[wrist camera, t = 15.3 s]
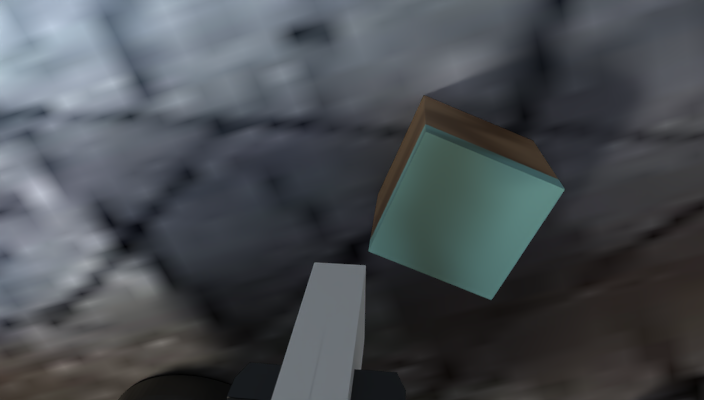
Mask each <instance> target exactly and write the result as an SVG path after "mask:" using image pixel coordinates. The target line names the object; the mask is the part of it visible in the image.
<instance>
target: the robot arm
mask: <svg viewBox="0 0 704 400" xmlns="http://www.w3.org/2000/svg"><path fill="white" fill-rule="evenodd" d="M365 285H366V265H351V264H333V263H316V262H314V265H313V268H312V272H311V275H310V278H309V281H308V284H307V287H306V291H305V294H304V297H303V300H302V303H301V306H300V310H299V313H298V316H297V319H296V322H295V325H294V329H293V332H292V335H291V338H290V341H289V345H288V348H287V351H286V354H285V357H284V360H283V364H282V365H275V364H262V363H249V364H248V365H247V366H246V367H245V368H244V369H243V370H242V371H241V372H240V373H239V374H238V375H237V376H236V377H235V379H234V381H233V383H232V386H231V385H229V384H226V383H223V382H220V381H216V380H213V379H208V378H204V377H198V376H189V375H168V376H160V377H155V378H151V379H148V380H145V381H142V382H140V383H138V384H136V385H134V386H132V387H131V388H130V389H128V390H127V391H126V392H125V393H123V395H122V396H121V397H120V398H119V399H118V400H406V390H405V388H404V386H403V384H402V382H401V380H400V378H399V376H398V374H397V372H384V371H371V370H361V366H362V357H363V348H364V338H365Z"/></svg>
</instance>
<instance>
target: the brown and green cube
mask: <svg viewBox="0 0 704 400" xmlns="http://www.w3.org/2000/svg"><path fill="white" fill-rule="evenodd" d="M564 190H565V189H564V187H563V186H562V184H561V182H560V181H559V179H558V178H557V176H556V175H555V173H554V172H553V170H552V169H551V167H550V166H549V164H548V163H547V161H546V160H545V158H544V157H543V155H542V154H541V152H540V150H539V149H538V147H537V146H536V144H535V143H534V141H532V140H530V139H528V138H525V137H523V136H520V135H518V134H516V133H513V132H511V131H508V130H506V129H504V128H501V127H499V126H497V125H494V124H492V123H489V122H487V121H485V120H482V119H480V118H477V117H475V116H473V115H470V114H468V113H465V112H463V111H461V110H458V109H456V108H454V107H451V106H449V105H446V104H444V103H442V102H439V101H437V100H434V99H432V98H430V97H427V96H425V95H424V96H423V98H422V100H421V102H420V105H419V107H418V109H417V111H416V113H415V115H414V118H413V120H412V122H411V124H410V126H409V128H408V131H407V133H406V135H405V137H404V139H403V141H402V144H401V146H400V148H399V150H398V152H397V154H396V157H395V159H394V161H393V163H392V165H391V167H390V170H389V172H388V174H387V176H386V178H385V180H384V183H383V185H382V187H381V189H380V191H379V193H378V197H377V203H376V209H375V215H374V220H373V226H372V232H371V238H370V244H369V249H368V251H369V252H371V253H374V254H376V255H379V256H381V257H384V258H386V259H389V260H391V261H394V262H396V263H399V264H401V265H404V266H407V267H409V268H412V269H414V270H417V271H419V272H422V273H424V274H427V275H429V276H432V277H434V278H437V279H439V280H442V281H444V282H447V283H449V284H452V285H454V286H457V287H459V288H462V289H465V290H467V291H470V292H472V293H475V294H477V295H480V296H482V297H485V298H487V299H490V300H492V299H493V297H494V296H495V294H496V293H497V291H498V290H499V288H500V287H501V285H502V284H503V282H504V281H505V279H506V278H507V276H508V275H509V273H510V272H511V270H512V269H513V267H514V266H515V264H516V262H517V261H518V259H519V258H520V256H521V255H522V253H523V252H524V250H525V249H526V247H527V246H528V244H529V243H530V241H531V240H532V238H533V237H534V235H535V234H536V232H537V231H538V229H539V228H540V226H541V225H542V223H543V222H544V220H545V219H546V217H547V216H548V214H549V213H550V211H551V210H552V208H553V207H554V205H555V204H556V202H557V201H558V199H559V198H560V196H561V195H562V193H563V192H564Z"/></svg>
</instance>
